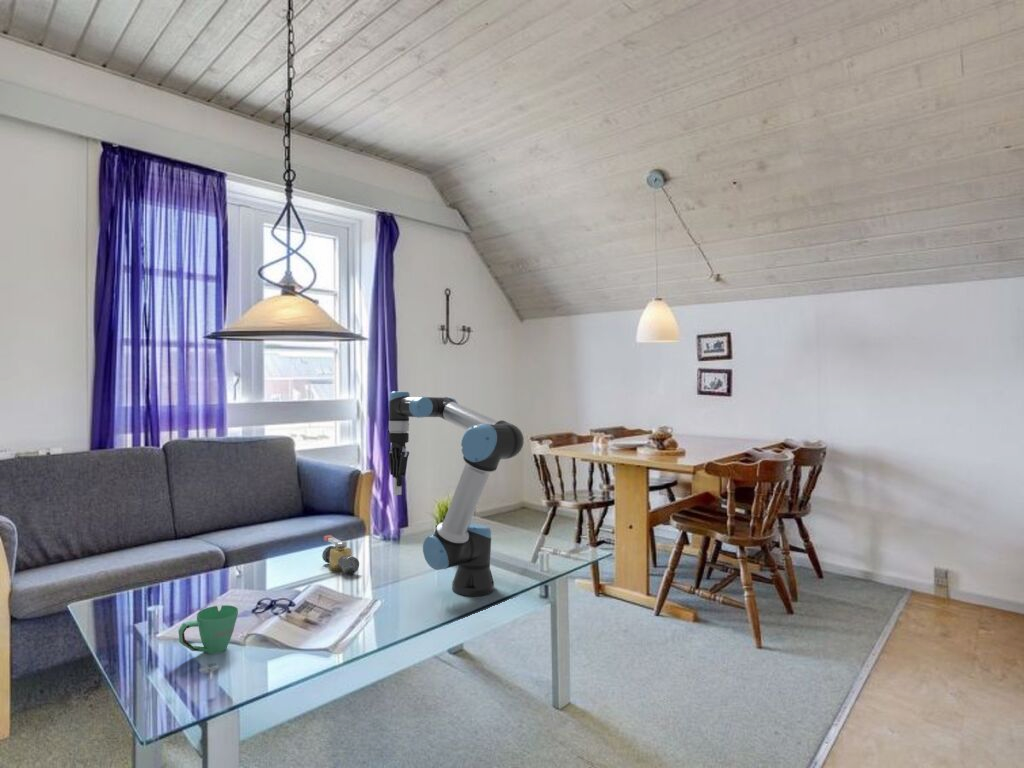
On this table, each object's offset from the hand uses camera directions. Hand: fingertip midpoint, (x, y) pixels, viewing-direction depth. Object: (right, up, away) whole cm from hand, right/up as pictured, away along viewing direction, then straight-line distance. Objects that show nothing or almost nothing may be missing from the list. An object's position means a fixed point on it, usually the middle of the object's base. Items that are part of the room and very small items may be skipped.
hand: (397, 494), depth 217 cm
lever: (-27, -22, +12) cm, 37 cm away
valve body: (-24, -31, +8) cm, 40 cm away
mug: (-37, -29, -67) cm, 81 cm away
